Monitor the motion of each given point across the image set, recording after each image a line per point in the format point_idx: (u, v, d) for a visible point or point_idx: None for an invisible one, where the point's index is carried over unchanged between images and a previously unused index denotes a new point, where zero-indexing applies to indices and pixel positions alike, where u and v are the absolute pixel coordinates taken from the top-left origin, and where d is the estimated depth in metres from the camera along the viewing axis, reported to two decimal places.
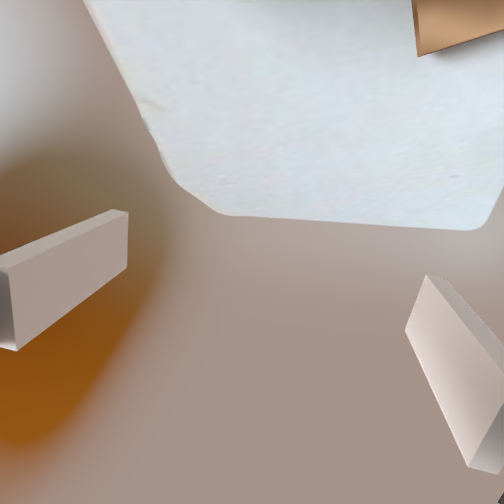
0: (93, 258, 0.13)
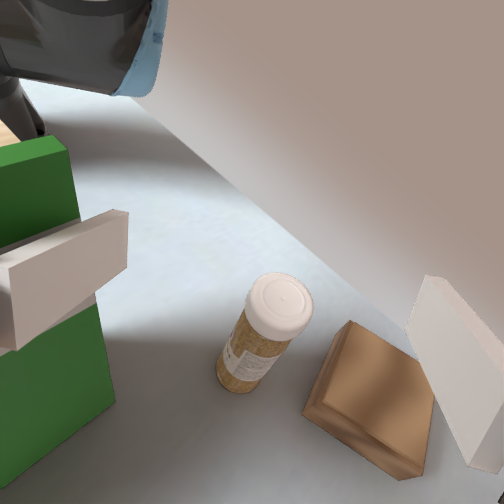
0: (93, 258, 0.13)
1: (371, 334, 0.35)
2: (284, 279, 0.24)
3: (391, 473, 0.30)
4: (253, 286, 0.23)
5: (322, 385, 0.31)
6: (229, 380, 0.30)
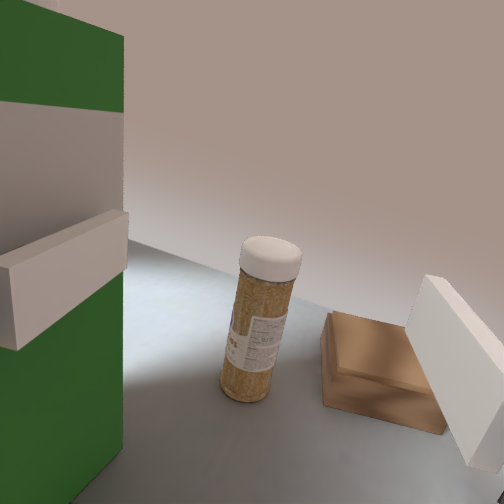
0: (93, 258, 0.13)
1: (351, 316, 0.37)
2: (267, 237, 0.27)
3: (431, 428, 0.29)
4: (244, 243, 0.25)
5: (331, 361, 0.30)
6: (241, 383, 0.28)
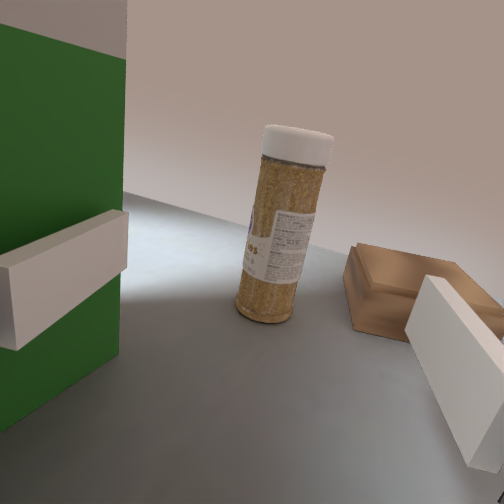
0: (93, 258, 0.13)
1: (378, 247, 0.33)
2: (291, 127, 0.23)
3: None
4: (266, 125, 0.22)
5: (361, 282, 0.27)
6: (261, 299, 0.24)
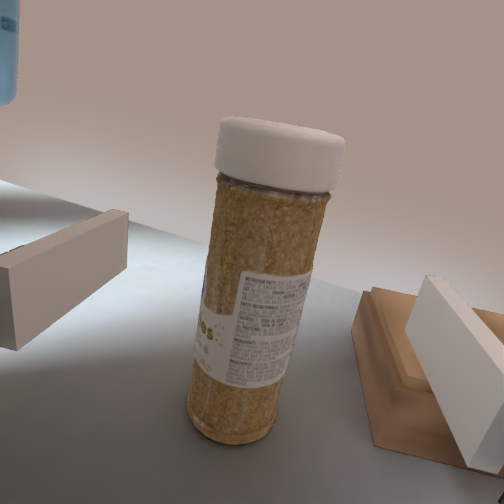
0: (93, 258, 0.13)
1: (402, 294, 0.23)
2: (271, 122, 0.14)
3: None
4: None
5: (386, 366, 0.17)
6: (222, 410, 0.14)
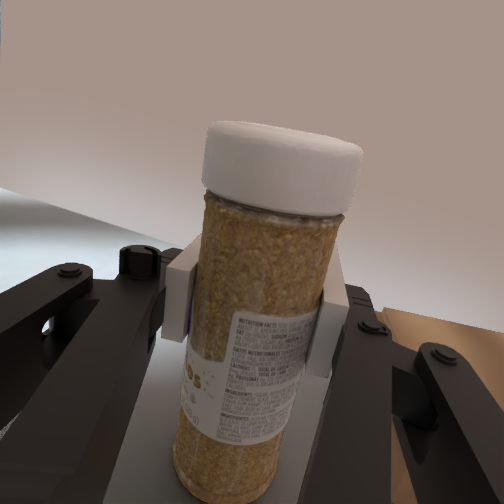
0: None
1: (417, 316, 0.21)
2: (271, 126, 0.11)
3: None
4: (212, 123, 0.10)
5: None
6: (213, 469, 0.12)
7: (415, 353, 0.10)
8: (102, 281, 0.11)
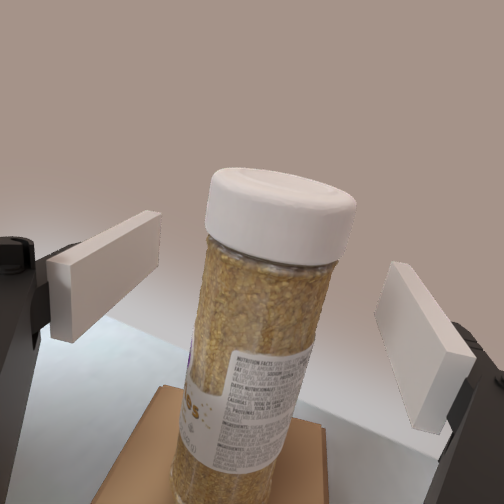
0: (133, 257, 0.14)
1: None
2: None
3: None
4: (215, 172, 0.10)
5: None
6: (208, 495, 0.13)
7: None
8: None
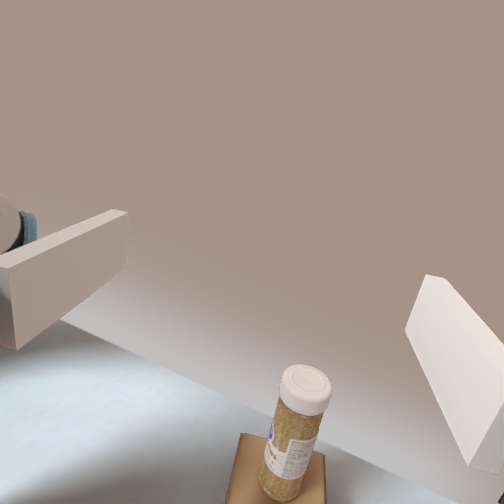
0: (93, 258, 0.13)
1: (260, 439, 0.40)
2: (301, 367, 0.32)
3: None
4: (283, 378, 0.31)
5: None
6: (278, 487, 0.33)
7: None
8: None
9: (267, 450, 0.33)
